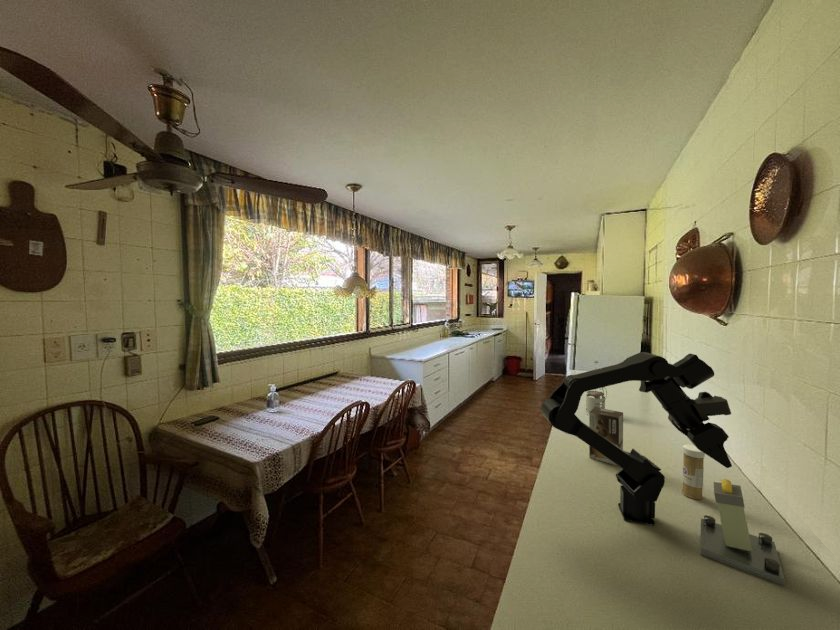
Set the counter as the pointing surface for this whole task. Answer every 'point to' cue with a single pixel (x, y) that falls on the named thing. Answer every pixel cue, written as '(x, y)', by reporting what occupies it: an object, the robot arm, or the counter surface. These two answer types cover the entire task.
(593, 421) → the coffee box
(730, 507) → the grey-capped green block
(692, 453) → the sprinkles bottle
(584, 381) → the robot arm
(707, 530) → the plate
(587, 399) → the french press
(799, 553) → the counter surface
